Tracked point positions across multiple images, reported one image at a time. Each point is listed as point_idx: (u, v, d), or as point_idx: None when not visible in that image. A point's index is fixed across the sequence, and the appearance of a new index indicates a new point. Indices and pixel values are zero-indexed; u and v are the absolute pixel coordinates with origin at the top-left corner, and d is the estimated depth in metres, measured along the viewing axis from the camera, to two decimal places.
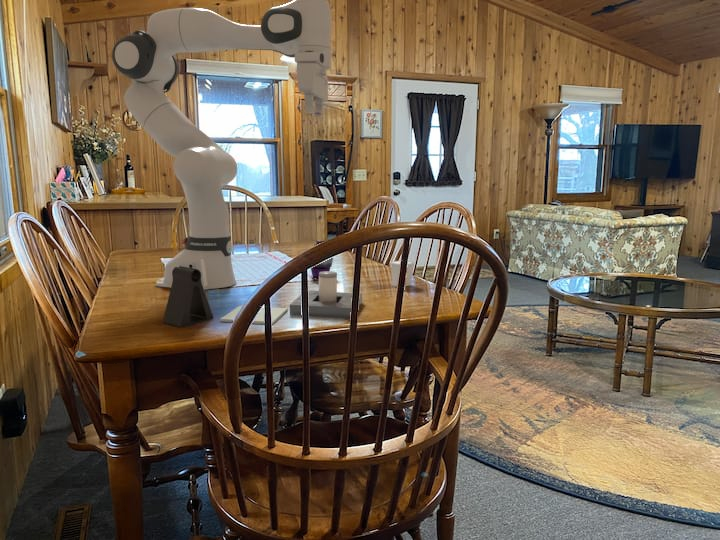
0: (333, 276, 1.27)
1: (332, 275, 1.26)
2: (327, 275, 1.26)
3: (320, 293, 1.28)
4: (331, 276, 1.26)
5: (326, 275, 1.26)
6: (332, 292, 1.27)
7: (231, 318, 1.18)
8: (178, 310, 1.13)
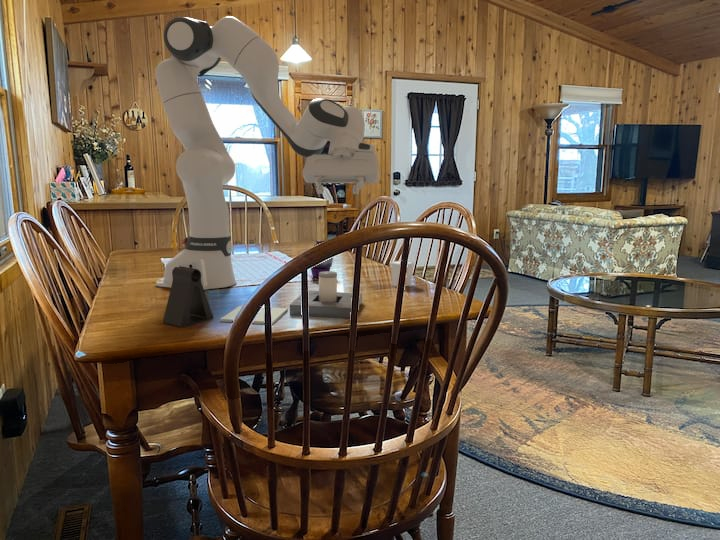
0: (333, 276, 1.27)
1: (332, 275, 1.26)
2: (327, 275, 1.26)
3: (320, 293, 1.28)
4: (331, 276, 1.26)
5: (326, 275, 1.26)
6: (332, 292, 1.27)
7: (231, 318, 1.18)
8: (178, 310, 1.13)
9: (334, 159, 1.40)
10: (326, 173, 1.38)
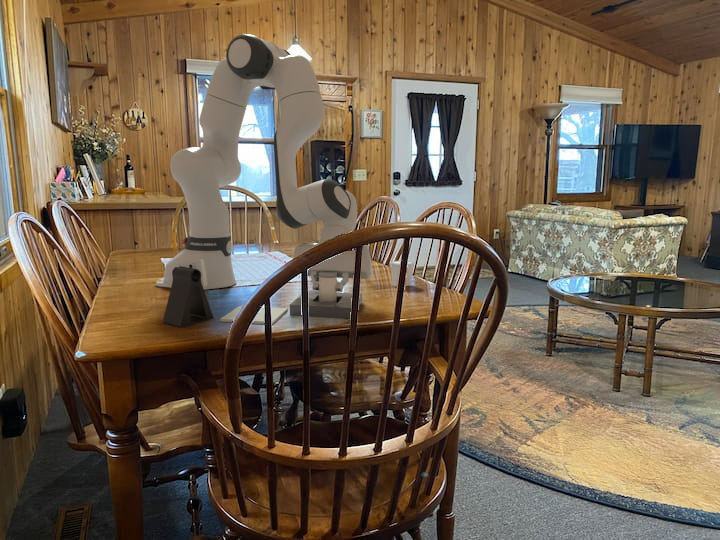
0: (333, 276, 1.27)
1: (332, 275, 1.26)
2: (327, 275, 1.26)
3: (320, 293, 1.28)
4: (331, 276, 1.26)
5: (326, 275, 1.26)
6: (332, 292, 1.27)
7: (231, 318, 1.18)
8: (178, 310, 1.13)
9: None
10: (315, 268, 1.30)
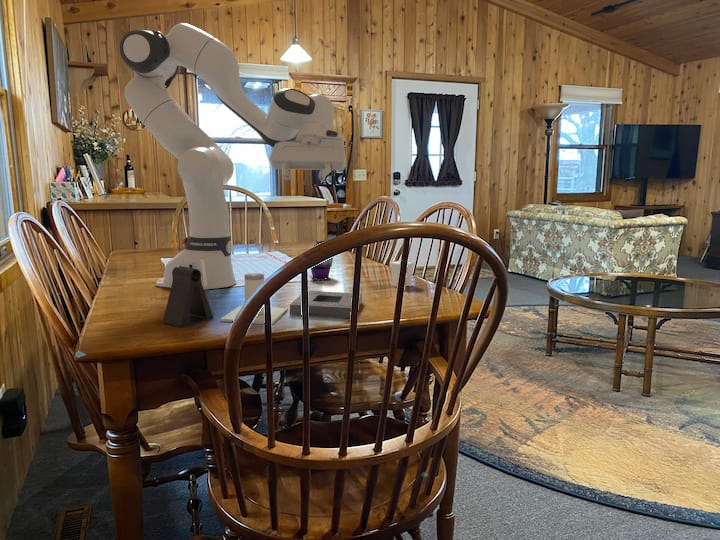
0: (258, 278, 1.19)
1: (257, 277, 1.19)
2: (251, 277, 1.19)
3: (245, 296, 1.20)
4: (256, 277, 1.19)
5: (250, 277, 1.19)
6: None
7: (231, 318, 1.18)
8: (178, 310, 1.13)
9: (302, 146, 1.41)
10: (293, 159, 1.38)
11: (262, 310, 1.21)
